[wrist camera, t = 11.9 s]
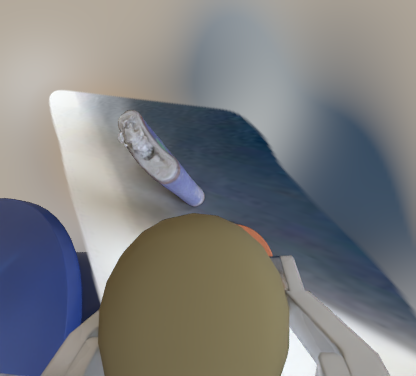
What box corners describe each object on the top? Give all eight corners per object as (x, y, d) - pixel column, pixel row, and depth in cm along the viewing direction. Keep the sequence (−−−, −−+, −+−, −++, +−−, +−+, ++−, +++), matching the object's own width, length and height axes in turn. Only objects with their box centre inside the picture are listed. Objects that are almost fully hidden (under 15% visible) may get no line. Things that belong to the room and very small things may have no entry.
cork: (178, 259, 15) (26, 282, 5) (235, 213, 15) (201, 143, 5) (223, 334, 13) (112, 662, 3) (290, 279, 13) (430, 397, 3)
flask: (209, 198, 22) (175, 158, 12) (190, 213, 22) (140, 185, 12) (170, 150, 26) (118, 88, 16) (153, 163, 26) (91, 109, 16)
